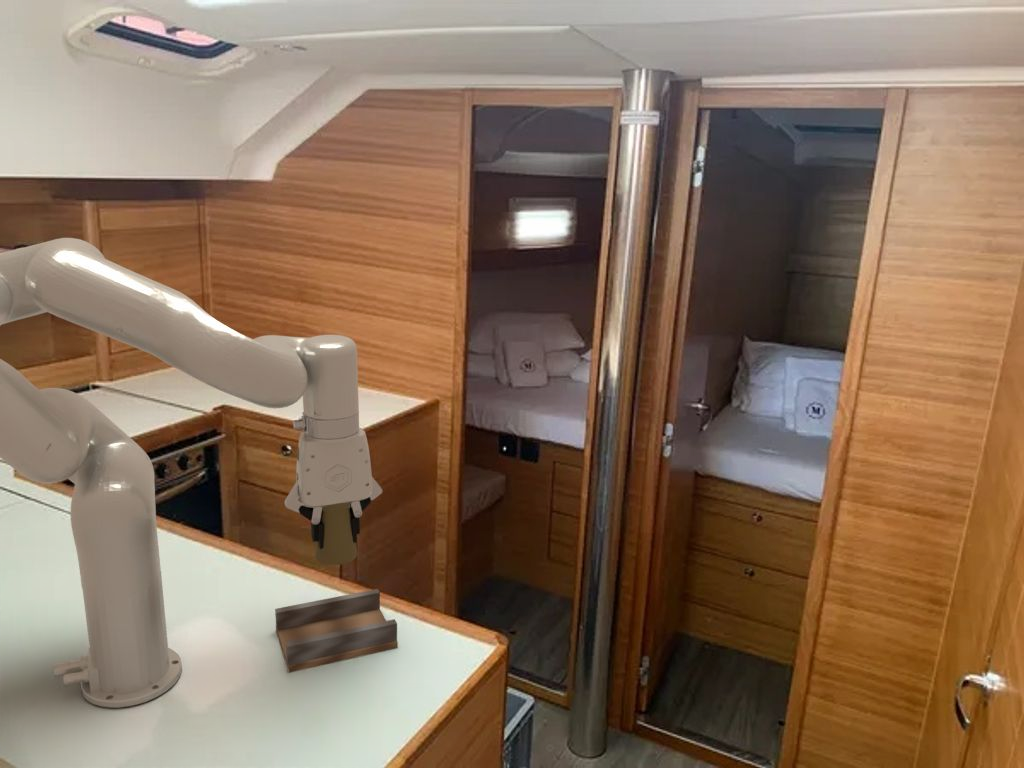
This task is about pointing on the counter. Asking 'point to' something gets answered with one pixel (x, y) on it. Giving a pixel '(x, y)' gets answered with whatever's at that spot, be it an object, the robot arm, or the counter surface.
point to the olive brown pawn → (336, 536)
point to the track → (334, 630)
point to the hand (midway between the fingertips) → (336, 540)
